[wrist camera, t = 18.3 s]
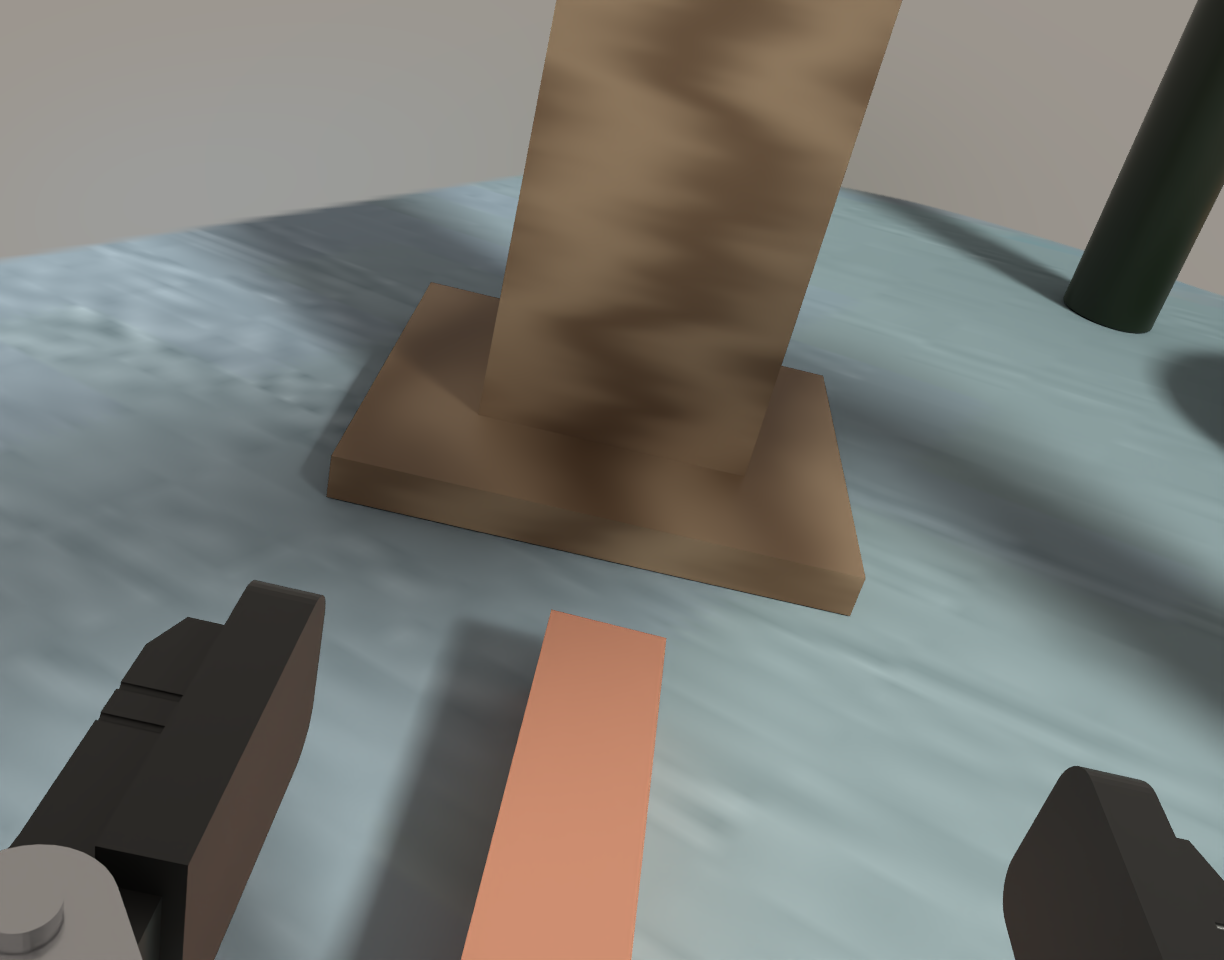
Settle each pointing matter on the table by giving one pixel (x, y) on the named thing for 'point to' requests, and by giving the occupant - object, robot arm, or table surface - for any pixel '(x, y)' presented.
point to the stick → (574, 801)
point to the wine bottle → (1160, 187)
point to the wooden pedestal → (648, 309)
